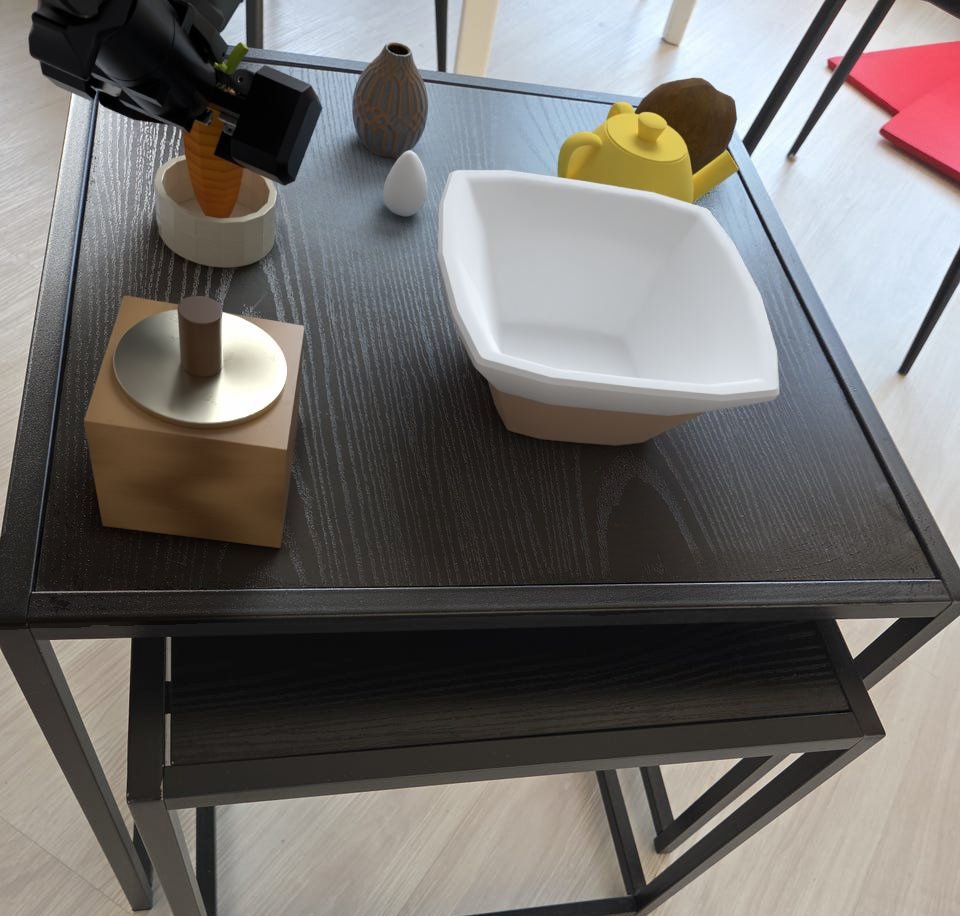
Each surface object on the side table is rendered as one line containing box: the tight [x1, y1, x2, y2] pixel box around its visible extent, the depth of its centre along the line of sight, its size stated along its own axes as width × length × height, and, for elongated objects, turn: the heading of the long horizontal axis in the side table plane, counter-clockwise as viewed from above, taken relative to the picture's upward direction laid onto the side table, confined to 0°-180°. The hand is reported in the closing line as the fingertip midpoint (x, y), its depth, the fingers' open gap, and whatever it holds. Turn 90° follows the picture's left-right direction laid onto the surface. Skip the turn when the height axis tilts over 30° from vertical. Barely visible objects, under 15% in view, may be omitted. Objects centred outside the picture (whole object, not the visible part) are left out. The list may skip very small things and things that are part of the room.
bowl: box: [437, 169, 780, 447], centre depth 71 cm, size 24×25×11 cm
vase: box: [351, 41, 429, 159], centre depth 86 cm, size 7×7×9 cm
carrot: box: [182, 41, 250, 218], centre depth 71 cm, size 5×5×15 cm
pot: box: [153, 154, 278, 269], centre depth 75 cm, size 9×9×4 cm
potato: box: [634, 77, 738, 175], centre depth 95 cm, size 8×12×9 cm
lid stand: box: [83, 294, 306, 549], centre depth 59 cm, size 11×11×9 cm
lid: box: [113, 295, 287, 429], centre depth 54 cm, size 10×10×4 cm
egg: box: [382, 150, 429, 217], centre depth 82 cm, size 4×4×6 cm
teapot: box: [556, 101, 740, 204], centre depth 85 cm, size 14×14×11 cm
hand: (225, 134), depth 72 cm, fingers closed on carrot, 5 cm apart
